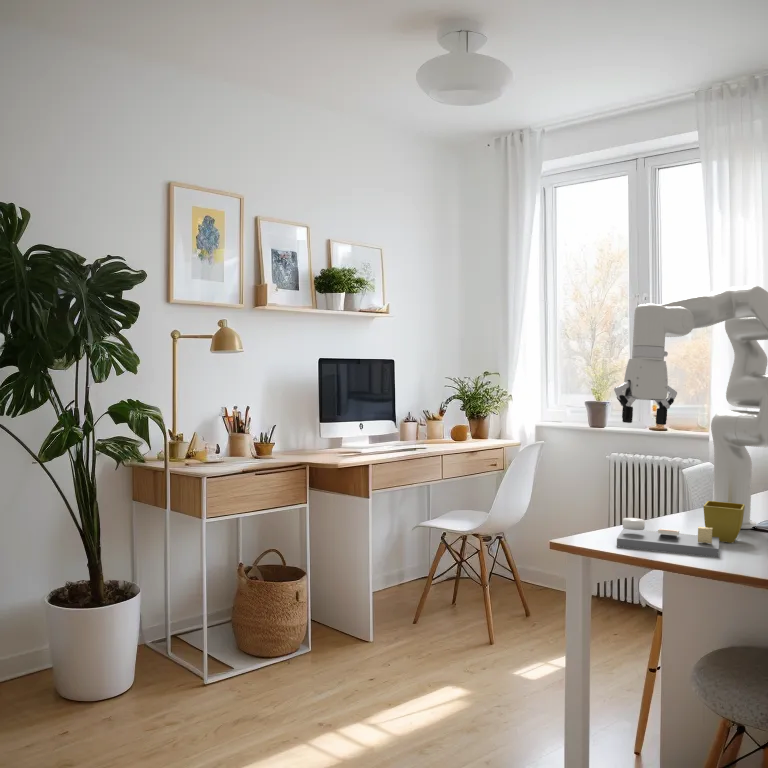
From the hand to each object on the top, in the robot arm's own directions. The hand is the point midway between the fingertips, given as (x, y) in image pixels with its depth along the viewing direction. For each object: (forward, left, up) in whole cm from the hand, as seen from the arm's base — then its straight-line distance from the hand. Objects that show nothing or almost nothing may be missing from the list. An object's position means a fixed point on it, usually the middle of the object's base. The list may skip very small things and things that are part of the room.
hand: (644, 423), depth 191 cm
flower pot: (-8, +19, -29) cm, 35 cm away
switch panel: (+6, +7, -29) cm, 30 cm away
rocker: (+6, +7, -26) cm, 27 cm away
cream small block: (+8, +15, -26) cm, 31 cm away
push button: (+6, -1, -25) cm, 26 cm away
